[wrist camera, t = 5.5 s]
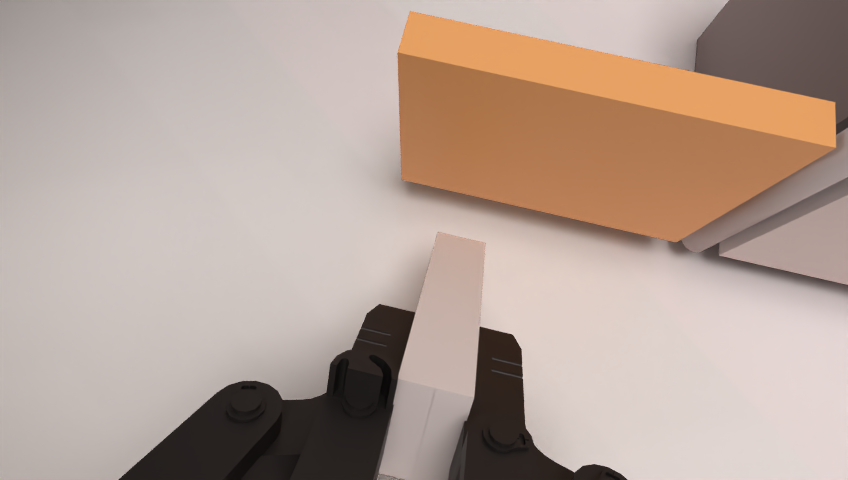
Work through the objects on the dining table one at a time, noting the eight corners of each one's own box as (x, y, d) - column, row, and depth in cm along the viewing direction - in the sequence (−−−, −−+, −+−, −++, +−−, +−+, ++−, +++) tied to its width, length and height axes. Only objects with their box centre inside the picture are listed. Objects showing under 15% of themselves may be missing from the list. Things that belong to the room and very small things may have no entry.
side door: (401, 187, 19) (397, 31, 11) (409, 159, 19) (410, -12, 11) (966, 317, 18) (1410, 250, 10) (963, 284, 18) (1390, 195, 10)
